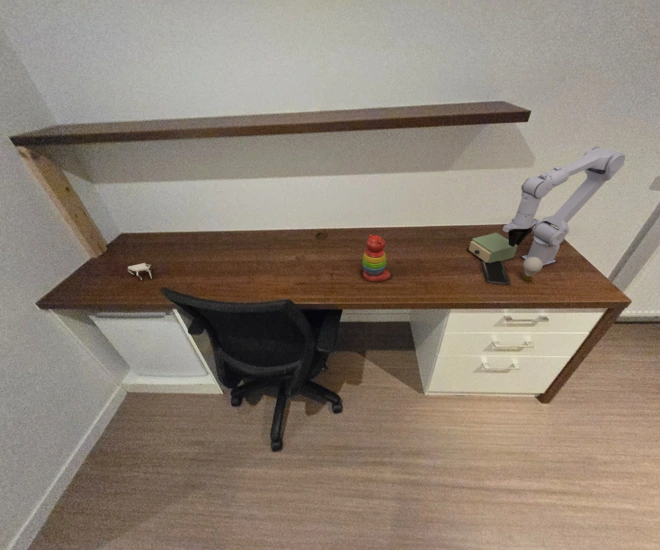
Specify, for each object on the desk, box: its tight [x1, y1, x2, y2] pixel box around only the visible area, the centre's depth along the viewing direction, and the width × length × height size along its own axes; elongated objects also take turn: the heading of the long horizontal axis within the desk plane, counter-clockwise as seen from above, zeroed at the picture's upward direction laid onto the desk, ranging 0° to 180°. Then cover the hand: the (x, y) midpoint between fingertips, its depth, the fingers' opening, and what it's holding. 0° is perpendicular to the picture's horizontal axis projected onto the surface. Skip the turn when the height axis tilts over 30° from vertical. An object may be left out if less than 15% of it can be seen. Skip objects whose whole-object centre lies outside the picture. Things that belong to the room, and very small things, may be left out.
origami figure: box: [127, 262, 153, 281], centre depth 130 cm, size 12×8×5 cm
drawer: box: [468, 240, 491, 262], centre depth 127 cm, size 13×11×4 cm
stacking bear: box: [361, 233, 392, 282], centre depth 117 cm, size 11×10×18 cm
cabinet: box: [471, 232, 518, 263], centre depth 127 cm, size 12×12×6 cm
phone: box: [481, 259, 510, 286], centre depth 119 cm, size 8×1×15 cm
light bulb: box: [522, 257, 544, 282], centre depth 111 cm, size 6×6×10 cm
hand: (513, 244), depth 115 cm, fingers closed
